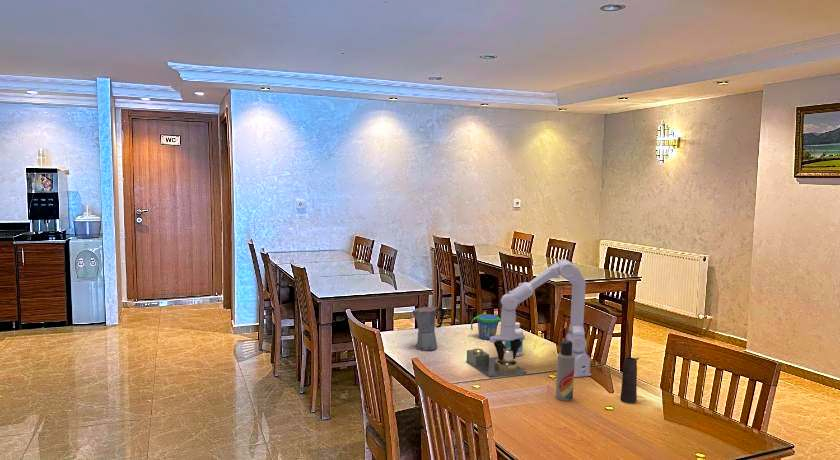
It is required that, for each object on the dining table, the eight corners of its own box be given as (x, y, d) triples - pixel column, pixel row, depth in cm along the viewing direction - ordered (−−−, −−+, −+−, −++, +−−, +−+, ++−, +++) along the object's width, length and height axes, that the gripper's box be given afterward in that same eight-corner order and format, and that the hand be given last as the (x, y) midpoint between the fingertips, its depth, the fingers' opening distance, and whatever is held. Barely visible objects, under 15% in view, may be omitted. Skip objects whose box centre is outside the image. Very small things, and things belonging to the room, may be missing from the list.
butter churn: (645, 398, 205) (650, 318, 202) (646, 407, 196) (651, 324, 193) (617, 394, 208) (622, 315, 205) (617, 403, 199) (621, 321, 196)
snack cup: (505, 336, 280) (506, 315, 279) (502, 342, 270) (503, 320, 269) (472, 333, 284) (473, 312, 283) (468, 339, 274) (469, 317, 273)
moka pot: (406, 346, 259) (407, 301, 257) (438, 343, 265) (439, 299, 264) (415, 352, 250) (417, 306, 249) (448, 349, 257) (449, 303, 255)
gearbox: (526, 373, 227) (527, 358, 227) (489, 377, 221) (490, 362, 221) (501, 358, 246) (501, 344, 245) (466, 361, 240) (467, 347, 239)
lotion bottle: (573, 401, 199) (576, 343, 198) (555, 400, 200) (558, 342, 199) (572, 396, 205) (575, 339, 203) (555, 394, 206) (558, 338, 204)
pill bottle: (521, 352, 256) (522, 321, 254) (522, 357, 248) (524, 325, 247) (504, 351, 256) (505, 320, 255) (504, 356, 249) (506, 324, 248)
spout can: (515, 365, 230) (516, 348, 230) (504, 367, 228) (504, 349, 228) (508, 361, 235) (509, 344, 234) (497, 363, 233) (498, 346, 232)
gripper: (519, 321, 237) (517, 354, 238) (486, 323, 231) (485, 357, 233) (528, 325, 230) (526, 359, 231) (495, 328, 225) (493, 362, 226)
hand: (506, 359), depth 232 cm, fingers closed on spout can, 5 cm apart
